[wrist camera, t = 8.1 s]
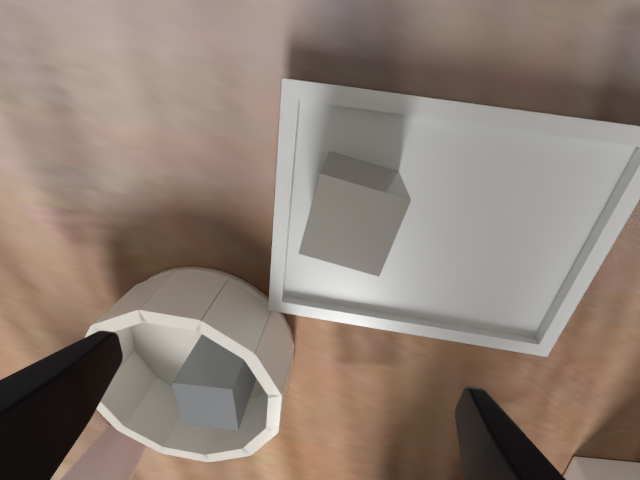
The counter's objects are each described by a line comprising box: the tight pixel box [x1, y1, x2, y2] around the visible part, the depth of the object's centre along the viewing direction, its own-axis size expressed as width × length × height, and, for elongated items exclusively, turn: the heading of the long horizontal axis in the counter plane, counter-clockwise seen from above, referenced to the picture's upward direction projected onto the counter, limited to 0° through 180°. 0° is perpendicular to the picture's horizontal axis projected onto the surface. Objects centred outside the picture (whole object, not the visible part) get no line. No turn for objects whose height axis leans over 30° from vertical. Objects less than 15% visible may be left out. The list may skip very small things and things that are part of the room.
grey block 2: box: [298, 151, 411, 277], centre depth 15 cm, size 4×4×4 cm
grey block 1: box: [172, 334, 256, 430], centre depth 21 cm, size 4×4×4 cm
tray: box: [268, 78, 640, 357], centre depth 18 cm, size 17×13×2 cm
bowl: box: [84, 267, 295, 462], centre depth 22 cm, size 13×13×5 cm
